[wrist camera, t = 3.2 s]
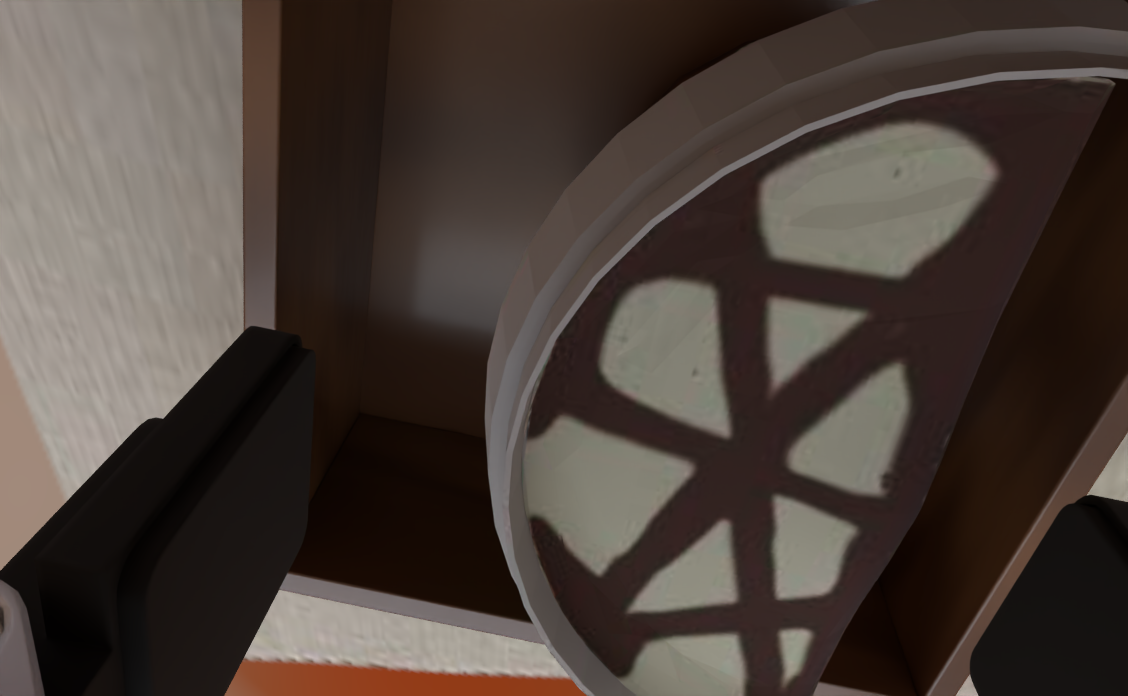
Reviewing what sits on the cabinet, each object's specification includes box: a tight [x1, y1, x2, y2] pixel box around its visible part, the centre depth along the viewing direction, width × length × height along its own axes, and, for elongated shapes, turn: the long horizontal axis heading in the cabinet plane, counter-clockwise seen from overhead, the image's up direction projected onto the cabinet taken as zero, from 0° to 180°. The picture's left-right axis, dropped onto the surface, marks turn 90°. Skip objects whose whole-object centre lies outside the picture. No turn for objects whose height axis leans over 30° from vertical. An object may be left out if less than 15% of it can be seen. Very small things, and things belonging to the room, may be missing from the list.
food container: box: [485, 0, 1128, 696], centre depth 14 cm, size 12×6×10 cm, turn 170°
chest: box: [242, 0, 1128, 696], centre depth 16 cm, size 16×15×7 cm
